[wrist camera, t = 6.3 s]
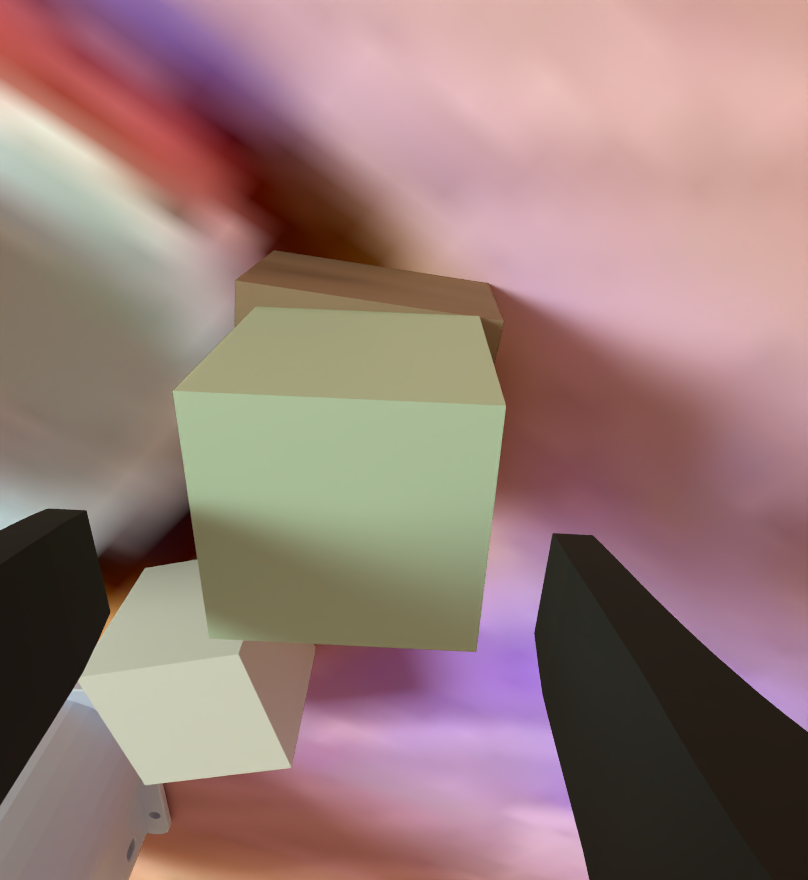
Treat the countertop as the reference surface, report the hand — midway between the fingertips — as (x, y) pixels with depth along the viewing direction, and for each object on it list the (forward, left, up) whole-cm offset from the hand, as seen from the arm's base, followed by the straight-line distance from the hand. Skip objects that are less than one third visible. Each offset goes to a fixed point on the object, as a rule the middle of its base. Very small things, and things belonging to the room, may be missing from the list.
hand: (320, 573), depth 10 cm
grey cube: (-10, +5, -10) cm, 15 cm away
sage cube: (0, 0, -6) cm, 6 cm away
